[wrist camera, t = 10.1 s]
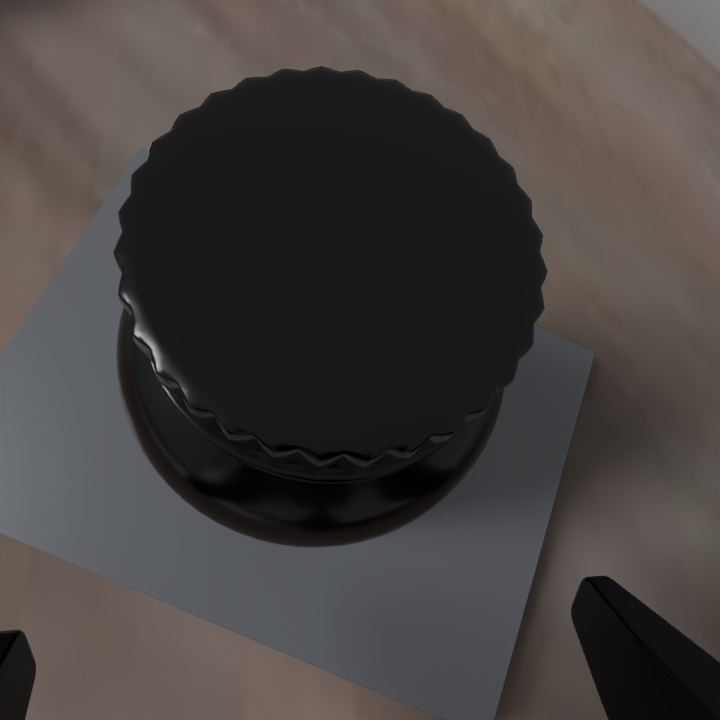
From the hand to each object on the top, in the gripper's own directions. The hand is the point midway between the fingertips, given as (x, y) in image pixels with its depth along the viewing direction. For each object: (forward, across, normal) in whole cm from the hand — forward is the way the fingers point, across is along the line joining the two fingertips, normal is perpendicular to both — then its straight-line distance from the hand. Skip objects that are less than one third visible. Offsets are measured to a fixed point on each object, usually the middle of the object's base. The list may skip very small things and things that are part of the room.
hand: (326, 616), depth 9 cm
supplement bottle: (+9, 0, +2) cm, 9 cm away
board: (+10, 0, +3) cm, 10 cm away
